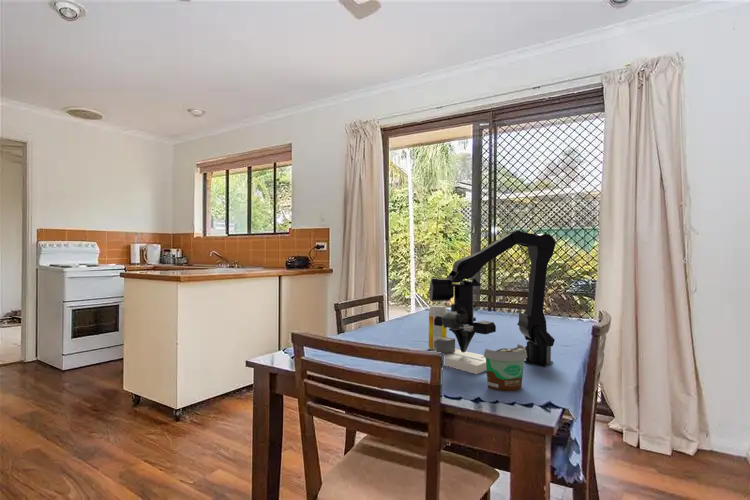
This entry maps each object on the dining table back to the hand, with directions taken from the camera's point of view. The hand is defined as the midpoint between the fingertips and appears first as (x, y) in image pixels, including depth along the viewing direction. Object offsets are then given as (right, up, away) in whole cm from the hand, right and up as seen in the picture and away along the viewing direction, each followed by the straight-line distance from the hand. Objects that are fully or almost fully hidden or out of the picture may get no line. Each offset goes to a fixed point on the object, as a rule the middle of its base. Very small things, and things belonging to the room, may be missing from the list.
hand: (463, 352), depth 123 cm
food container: (+7, -4, -21) cm, 22 cm away
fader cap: (-5, -1, +5) cm, 7 cm away
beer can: (-5, -4, +17) cm, 18 cm away
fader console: (-1, -4, +1) cm, 4 cm away
